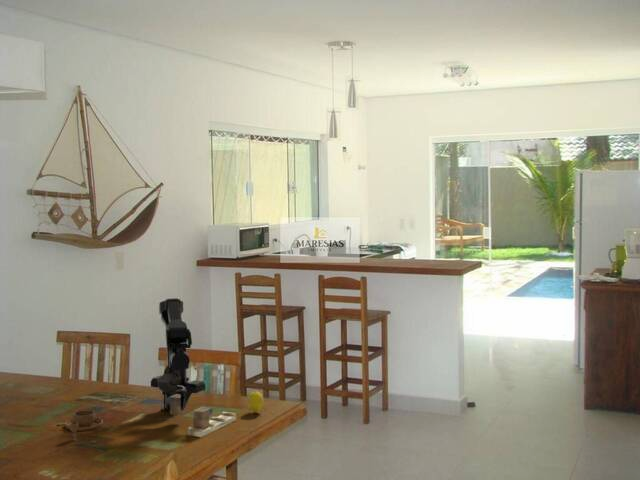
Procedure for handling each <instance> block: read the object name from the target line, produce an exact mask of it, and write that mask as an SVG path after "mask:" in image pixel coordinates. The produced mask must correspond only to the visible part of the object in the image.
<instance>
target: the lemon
mask: <svg viewBox="0 0 640 480" xmlns="http://www.w3.org/2000/svg"><path fill="white" fill-rule="evenodd" d="M264 401H265V400H264V396H263V394H262V393H261V392H260V391H258V390H254V391H252V392H251V393H250V394H249V395H248V398H247V407H248V409H250V411H252V412H253V413H254V414H257V413H258V412H259V411H261V410H262V409H263V407H264Z"/></svg>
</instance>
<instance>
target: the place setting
mask: <svg viewBox="0 0 640 480" xmlns="http://www.w3.org/2000/svg"><path fill="white" fill-rule="evenodd" d="M94 422H95V423H98V424H94V425H92V424H93V423H94ZM103 423H104V420H103V419H102V418H100V417H96V412H95V411H94V410H90V409H82V410H81V409H80V410H77V411H75V412H73V413H72V418H71V419H69V420H67V421H64V422H59V423H57V426H65V428H66V429H67V430H69V431H71V432H72V441H77V431H78V432H83V431H84V432H85V431H91V430H95V429H98V428H100V427H101V426H102V425H103ZM92 434H93V435H95V434H96V433H95V432H92Z"/></svg>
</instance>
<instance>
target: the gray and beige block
mask: <svg viewBox="0 0 640 480" xmlns="http://www.w3.org/2000/svg"><path fill="white" fill-rule="evenodd" d="M167 404H170V412H169V413H170V415H174V416H181V415H184V414H186V413H187V412H186V409H187V407H185V409H184V410H183V411H182V410H181V395H180V394H175V395H173V396H170V397H167Z"/></svg>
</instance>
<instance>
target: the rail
mask: <svg viewBox="0 0 640 480" xmlns="http://www.w3.org/2000/svg"><path fill="white" fill-rule="evenodd" d="M210 415H211V417H210ZM212 415H213V407H208V406H201V407H198V408H196V409H194V410H193V411H192V418H193V419H192V424H193V427H191V426H190V427H188V428H187V435H188V436H192V437H198V438H202V437H203V438H204V436H206V435H209V434H211V433H213V432H215V431H217V430H219V429H221V428H223V427H225V426H227V425H229V424H231V423H233V422H235V421H237V414H236V413H235V412H229V411H228V412H227V411H222V412H221V414H220V415H218V416H212ZM210 418H211V419H210Z"/></svg>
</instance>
